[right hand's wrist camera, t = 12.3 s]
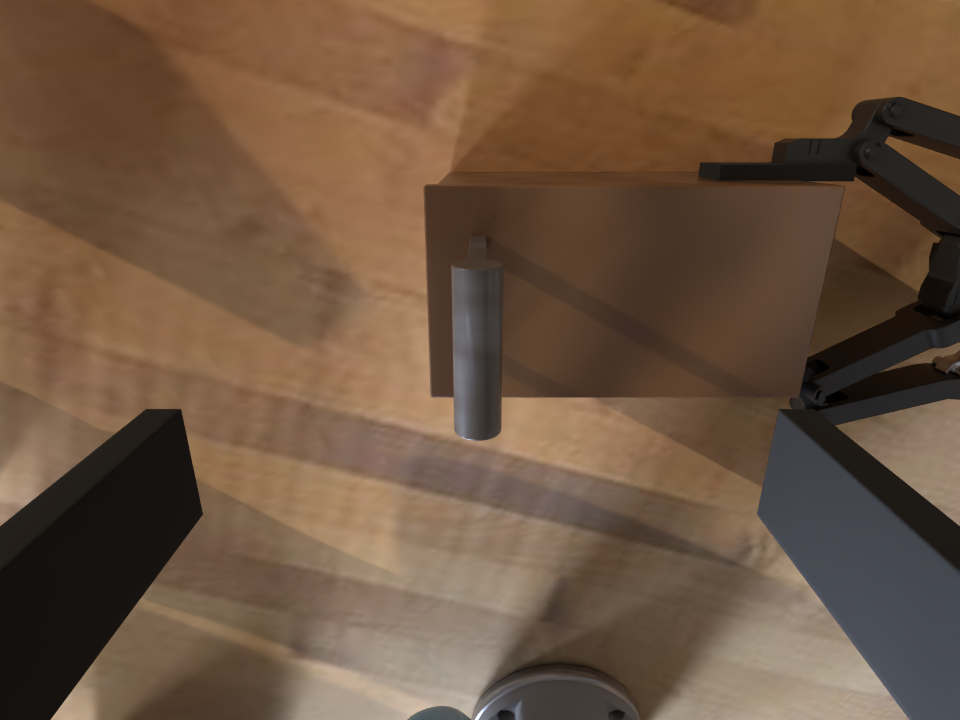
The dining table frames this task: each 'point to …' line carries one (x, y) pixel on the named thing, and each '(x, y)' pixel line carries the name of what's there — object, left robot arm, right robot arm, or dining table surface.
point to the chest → (596, 178)
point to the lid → (621, 291)
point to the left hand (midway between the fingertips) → (694, 275)
